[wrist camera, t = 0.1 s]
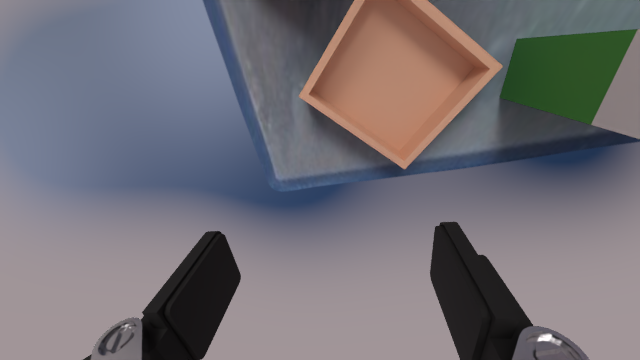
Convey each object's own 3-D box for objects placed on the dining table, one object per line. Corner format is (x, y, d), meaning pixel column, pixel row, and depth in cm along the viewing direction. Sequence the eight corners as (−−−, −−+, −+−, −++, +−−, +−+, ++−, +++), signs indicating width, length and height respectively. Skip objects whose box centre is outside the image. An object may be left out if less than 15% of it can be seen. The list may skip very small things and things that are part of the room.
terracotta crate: (374, -29, 30) (378, -43, 25) (482, 64, 33) (503, 66, 29) (304, 91, 37) (298, 96, 33) (398, 156, 41) (404, 169, 36)
